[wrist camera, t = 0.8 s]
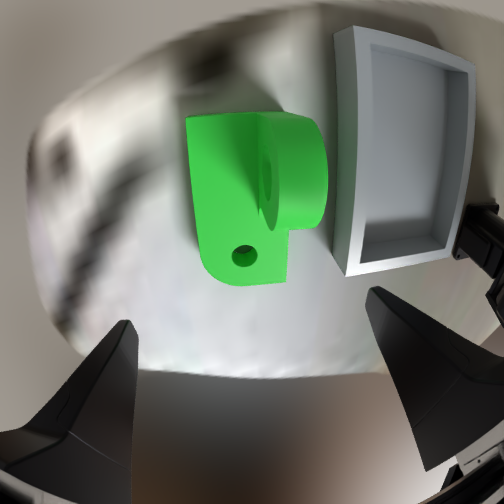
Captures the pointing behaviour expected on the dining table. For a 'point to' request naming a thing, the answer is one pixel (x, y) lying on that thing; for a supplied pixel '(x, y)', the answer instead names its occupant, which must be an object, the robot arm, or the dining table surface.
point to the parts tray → (399, 149)
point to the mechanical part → (254, 190)
